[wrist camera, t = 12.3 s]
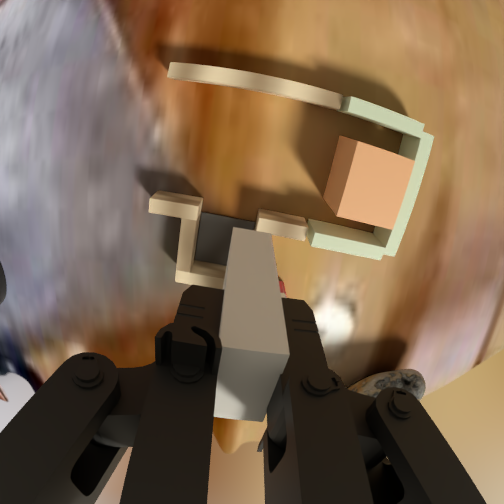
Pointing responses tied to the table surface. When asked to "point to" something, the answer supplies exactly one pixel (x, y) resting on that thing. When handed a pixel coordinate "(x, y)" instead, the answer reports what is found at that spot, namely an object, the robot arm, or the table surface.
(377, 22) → the table surface
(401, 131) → the dock
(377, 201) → the block
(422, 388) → the stone
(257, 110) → the table surface
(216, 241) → the wooden frame piece
